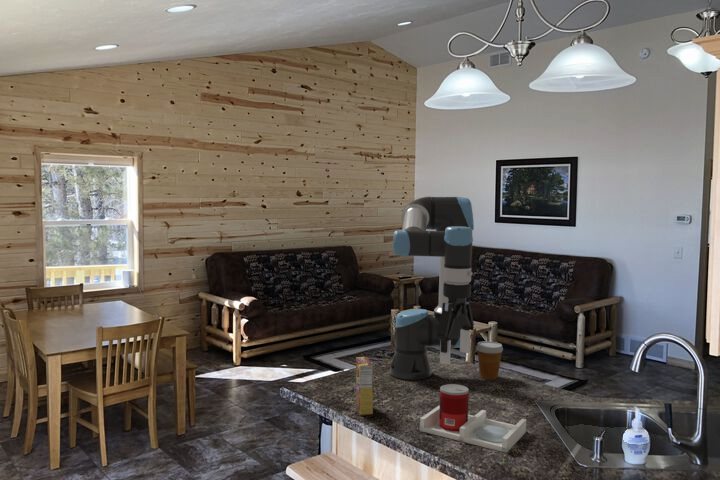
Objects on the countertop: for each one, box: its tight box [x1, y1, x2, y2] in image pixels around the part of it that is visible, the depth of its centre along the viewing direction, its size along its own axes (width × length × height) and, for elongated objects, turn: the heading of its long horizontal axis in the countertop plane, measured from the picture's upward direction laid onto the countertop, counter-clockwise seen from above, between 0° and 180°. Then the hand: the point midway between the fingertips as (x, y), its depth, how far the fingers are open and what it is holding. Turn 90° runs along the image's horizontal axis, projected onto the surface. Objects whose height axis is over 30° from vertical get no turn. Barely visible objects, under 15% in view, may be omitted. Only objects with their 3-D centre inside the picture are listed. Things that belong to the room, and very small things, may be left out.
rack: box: [419, 404, 527, 453], centre depth 168 cm, size 16×25×4 cm, turn 57°
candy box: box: [355, 356, 374, 416], centre depth 185 cm, size 9×4×15 cm, turn 8°
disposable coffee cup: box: [475, 340, 504, 380], centre depth 219 cm, size 10×10×12 cm
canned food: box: [439, 383, 470, 431], centre depth 170 cm, size 8×8×11 cm
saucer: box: [476, 425, 509, 443], centre depth 165 cm, size 9×9×1 cm
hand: (455, 358), depth 169 cm, fingers open, 13 cm apart
